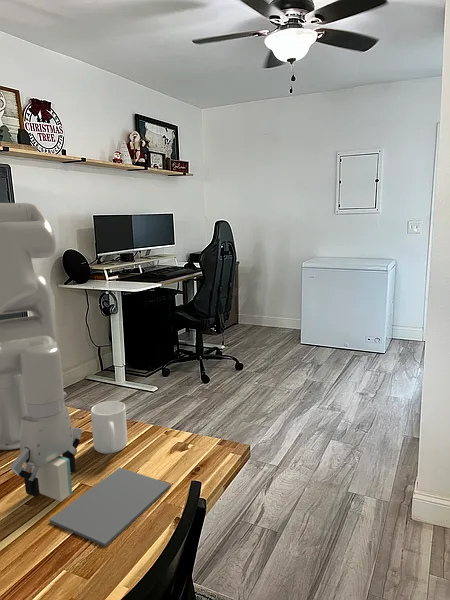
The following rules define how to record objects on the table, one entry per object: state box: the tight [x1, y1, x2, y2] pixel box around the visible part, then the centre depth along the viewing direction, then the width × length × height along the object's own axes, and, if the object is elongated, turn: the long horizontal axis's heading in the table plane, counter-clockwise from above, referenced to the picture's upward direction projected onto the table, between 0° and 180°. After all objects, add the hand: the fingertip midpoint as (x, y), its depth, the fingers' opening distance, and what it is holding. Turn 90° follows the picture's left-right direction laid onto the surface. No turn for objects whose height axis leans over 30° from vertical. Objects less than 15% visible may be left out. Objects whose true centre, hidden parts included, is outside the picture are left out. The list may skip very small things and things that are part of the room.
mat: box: [49, 467, 172, 547], centre depth 92 cm, size 14×20×1 cm
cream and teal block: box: [31, 455, 73, 502], centre depth 95 cm, size 8×3×8 cm, turn 62°
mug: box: [90, 400, 128, 455], centre depth 112 cm, size 12×8×10 cm
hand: (52, 482), depth 95 cm, fingers open, 9 cm apart
